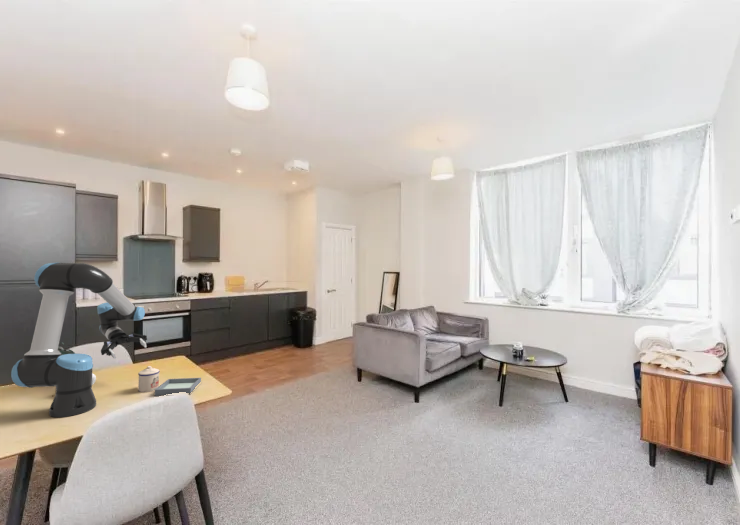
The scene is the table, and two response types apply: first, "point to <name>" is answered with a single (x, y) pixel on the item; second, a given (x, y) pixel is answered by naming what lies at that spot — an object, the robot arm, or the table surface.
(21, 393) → the table surface
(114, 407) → the table surface
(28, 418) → the table surface
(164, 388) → the tray
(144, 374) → the teacup with lid
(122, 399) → the table surface
